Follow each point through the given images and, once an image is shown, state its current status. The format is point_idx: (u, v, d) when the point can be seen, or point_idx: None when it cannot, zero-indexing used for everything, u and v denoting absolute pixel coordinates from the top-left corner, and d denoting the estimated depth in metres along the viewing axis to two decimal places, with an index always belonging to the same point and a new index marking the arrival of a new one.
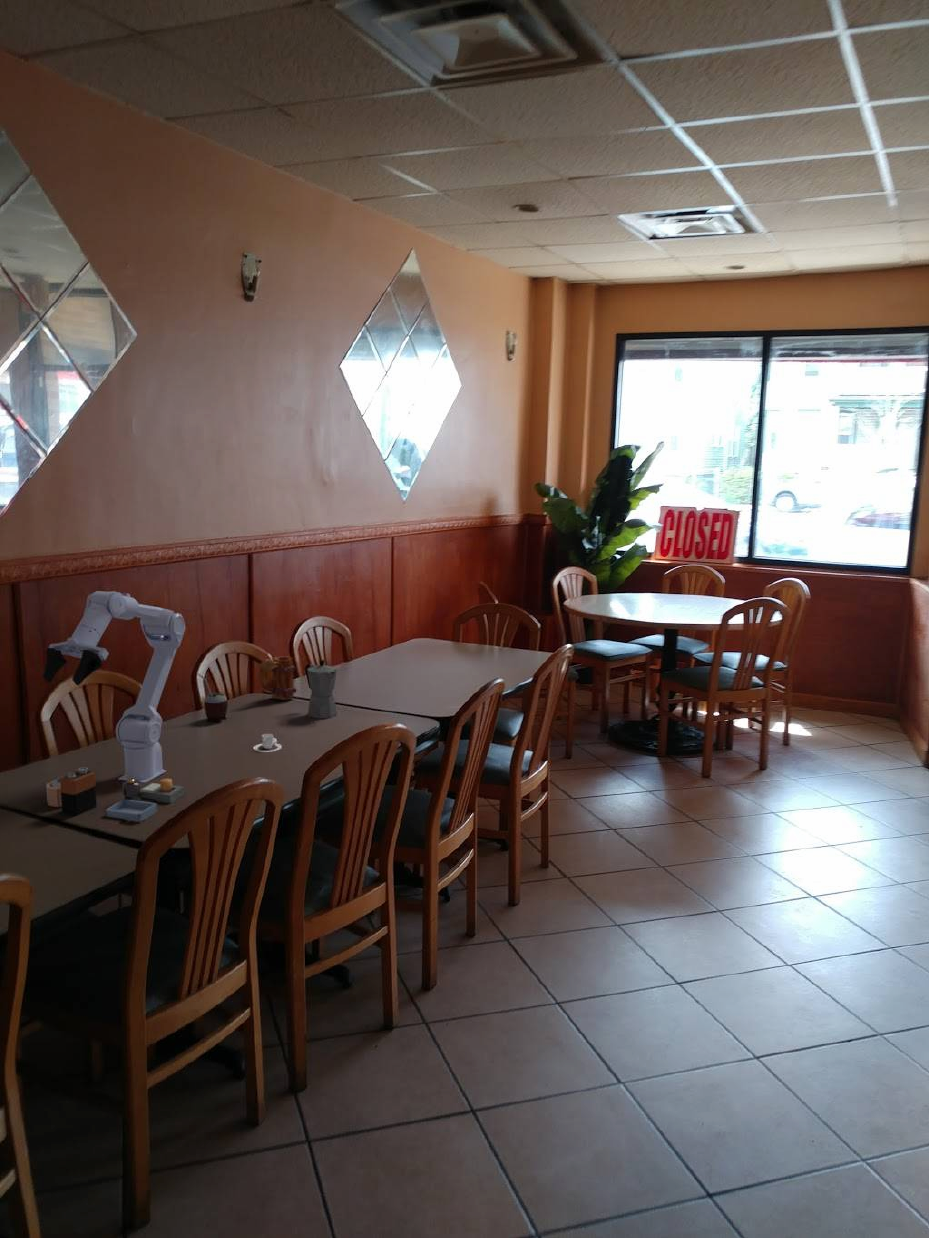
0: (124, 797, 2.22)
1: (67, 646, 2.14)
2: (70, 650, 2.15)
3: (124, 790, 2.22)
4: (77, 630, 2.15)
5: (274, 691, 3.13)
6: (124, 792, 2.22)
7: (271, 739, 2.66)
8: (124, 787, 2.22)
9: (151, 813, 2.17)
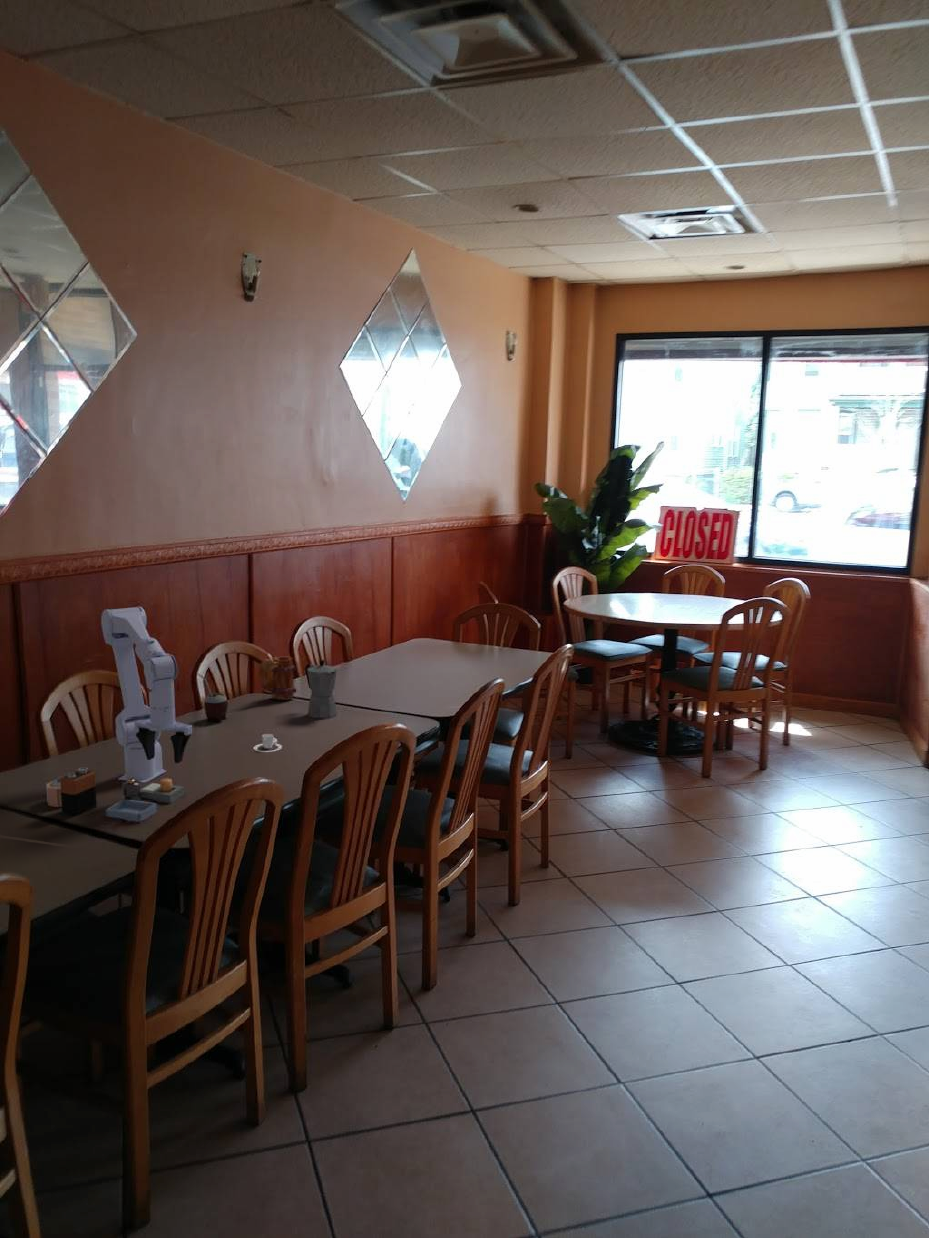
0: (124, 797, 2.22)
1: None
2: None
3: (124, 790, 2.22)
4: (153, 713, 2.22)
5: (274, 691, 3.13)
6: (124, 792, 2.22)
7: (271, 739, 2.66)
8: (124, 787, 2.22)
9: (151, 813, 2.17)
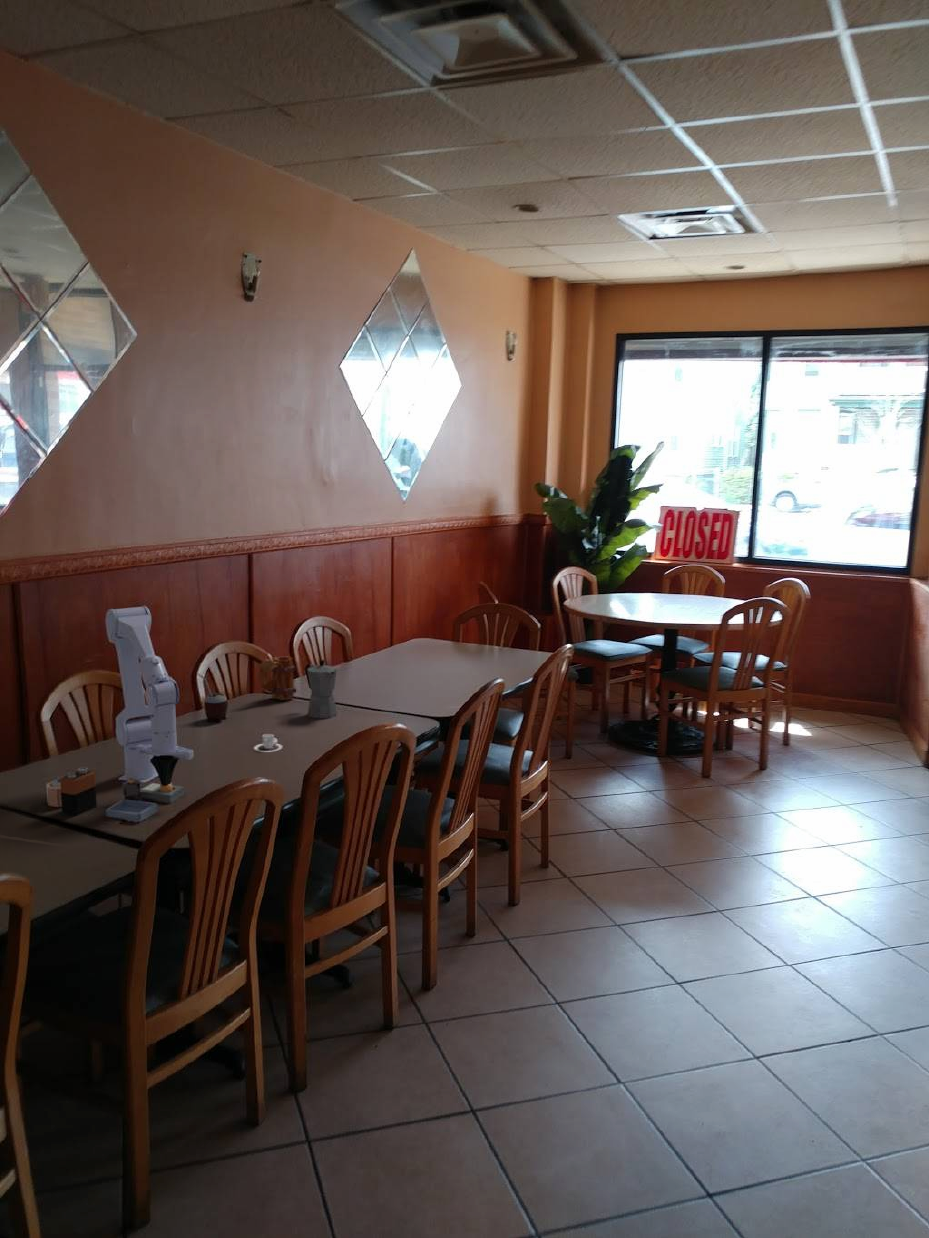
0: (124, 797, 2.22)
1: None
2: None
3: (124, 790, 2.22)
4: (155, 738, 2.23)
5: (274, 691, 3.13)
6: (124, 792, 2.22)
7: (272, 739, 2.66)
8: (124, 787, 2.22)
9: (151, 813, 2.17)
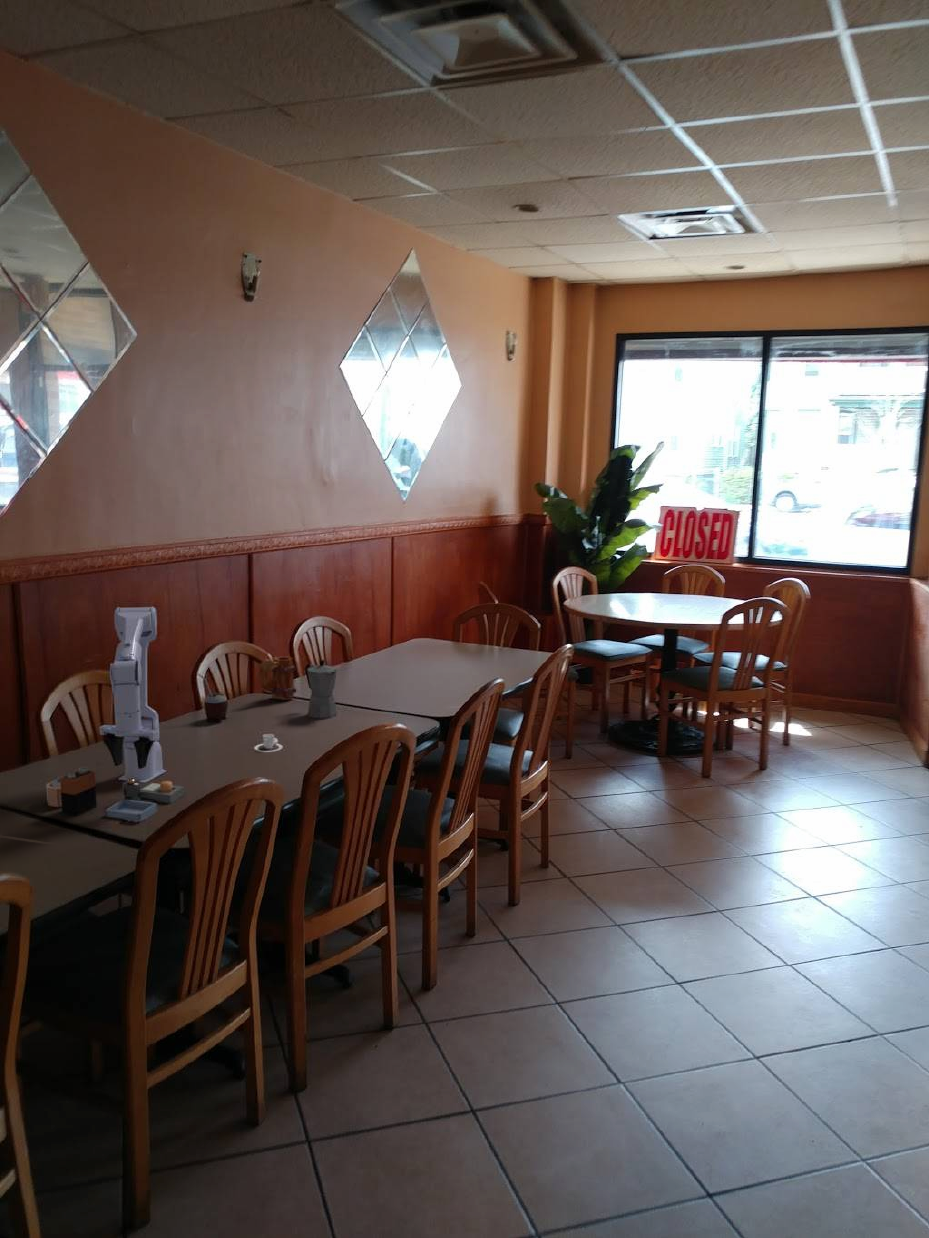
0: (124, 797, 2.22)
1: None
2: None
3: (124, 790, 2.22)
4: (118, 718, 2.18)
5: (274, 691, 3.13)
6: (124, 792, 2.22)
7: (272, 739, 2.66)
8: (124, 787, 2.22)
9: (151, 813, 2.17)
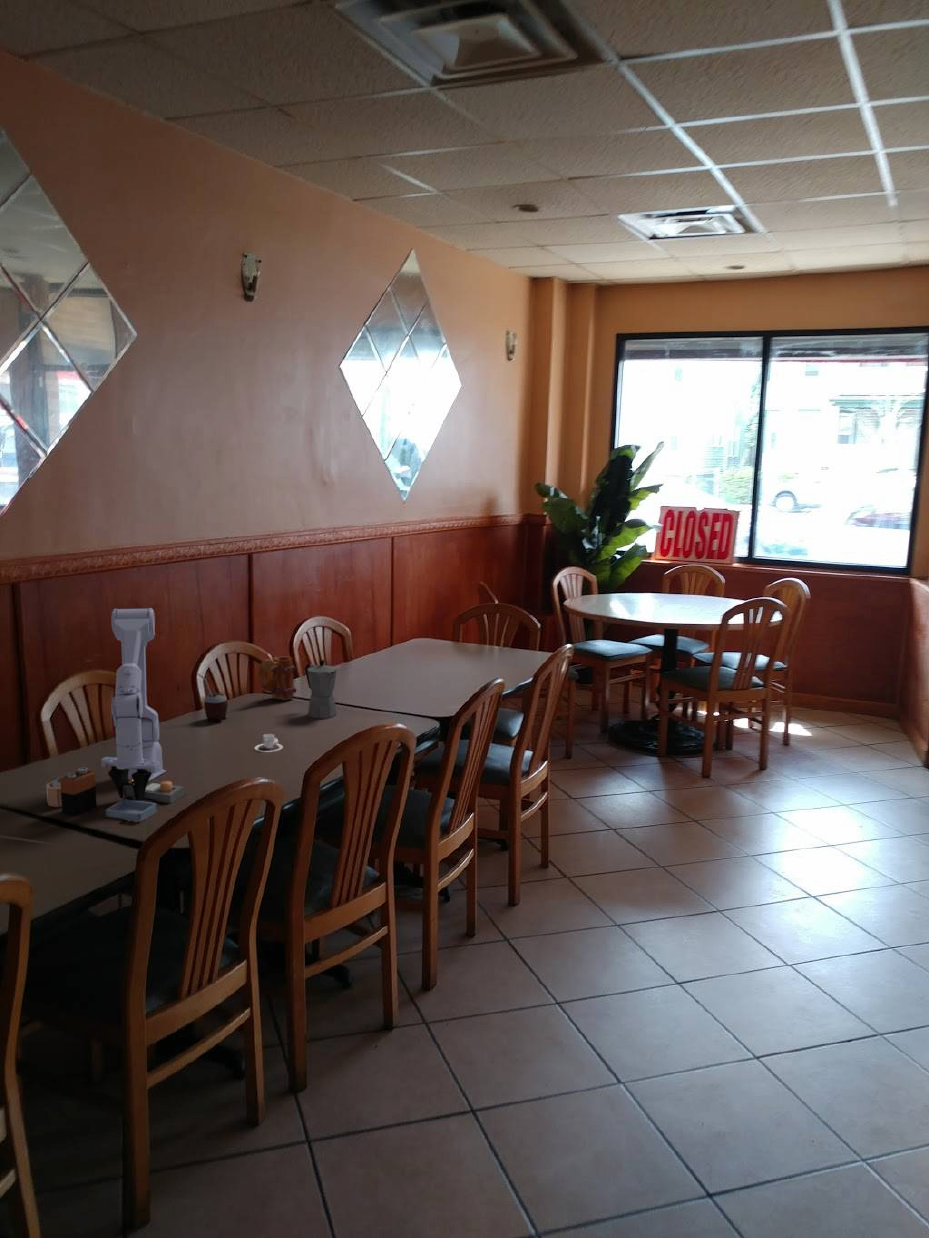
0: (124, 797, 2.22)
1: None
2: None
3: (124, 790, 2.22)
4: (120, 751, 2.19)
5: (274, 691, 3.13)
6: (124, 792, 2.22)
7: (272, 739, 2.66)
8: (124, 787, 2.22)
9: (151, 813, 2.17)
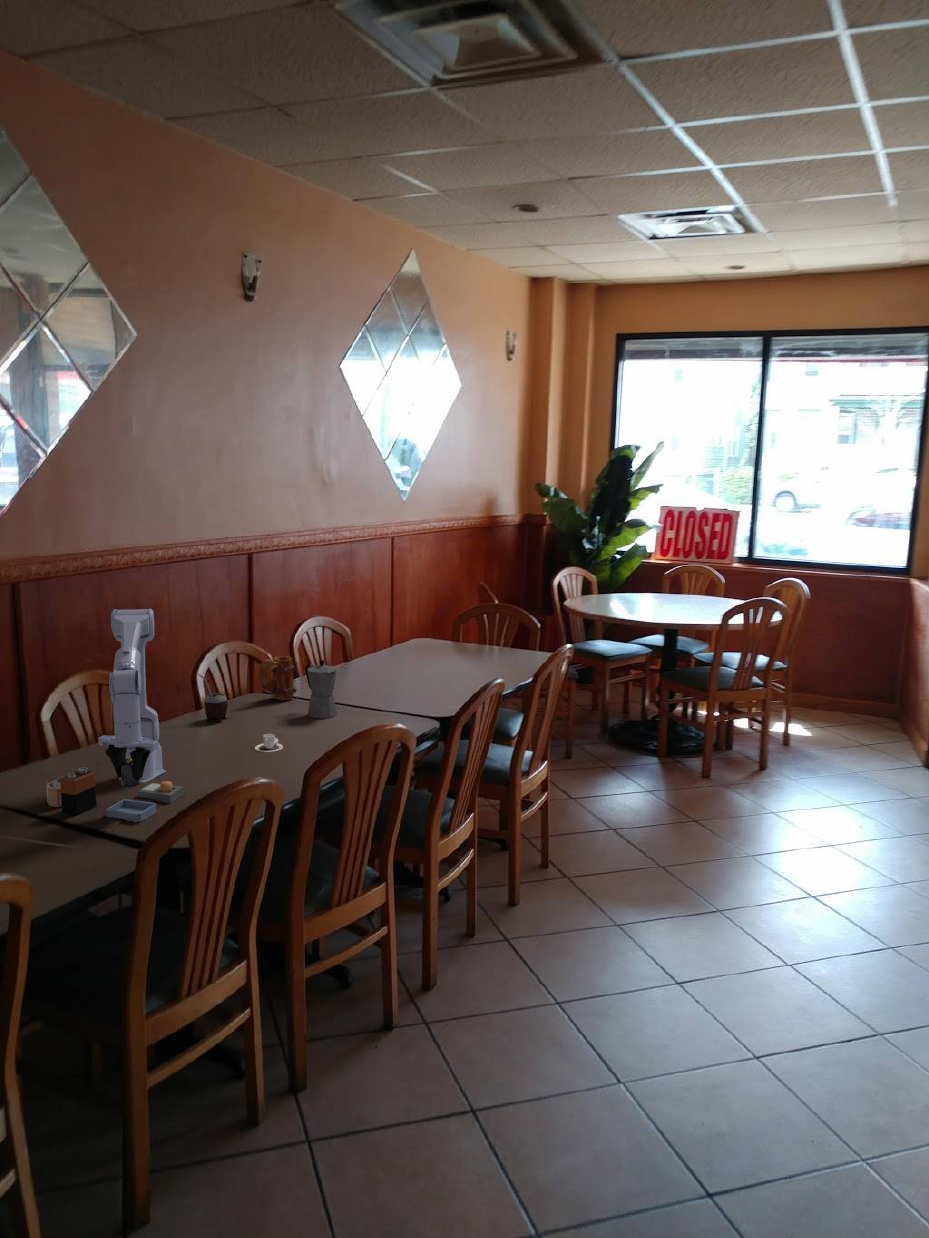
0: (122, 777, 2.16)
1: None
2: None
3: (122, 770, 2.15)
4: (117, 729, 2.12)
5: (274, 691, 3.13)
6: (122, 772, 2.15)
7: (272, 739, 2.66)
8: (122, 767, 2.15)
9: (151, 813, 2.17)
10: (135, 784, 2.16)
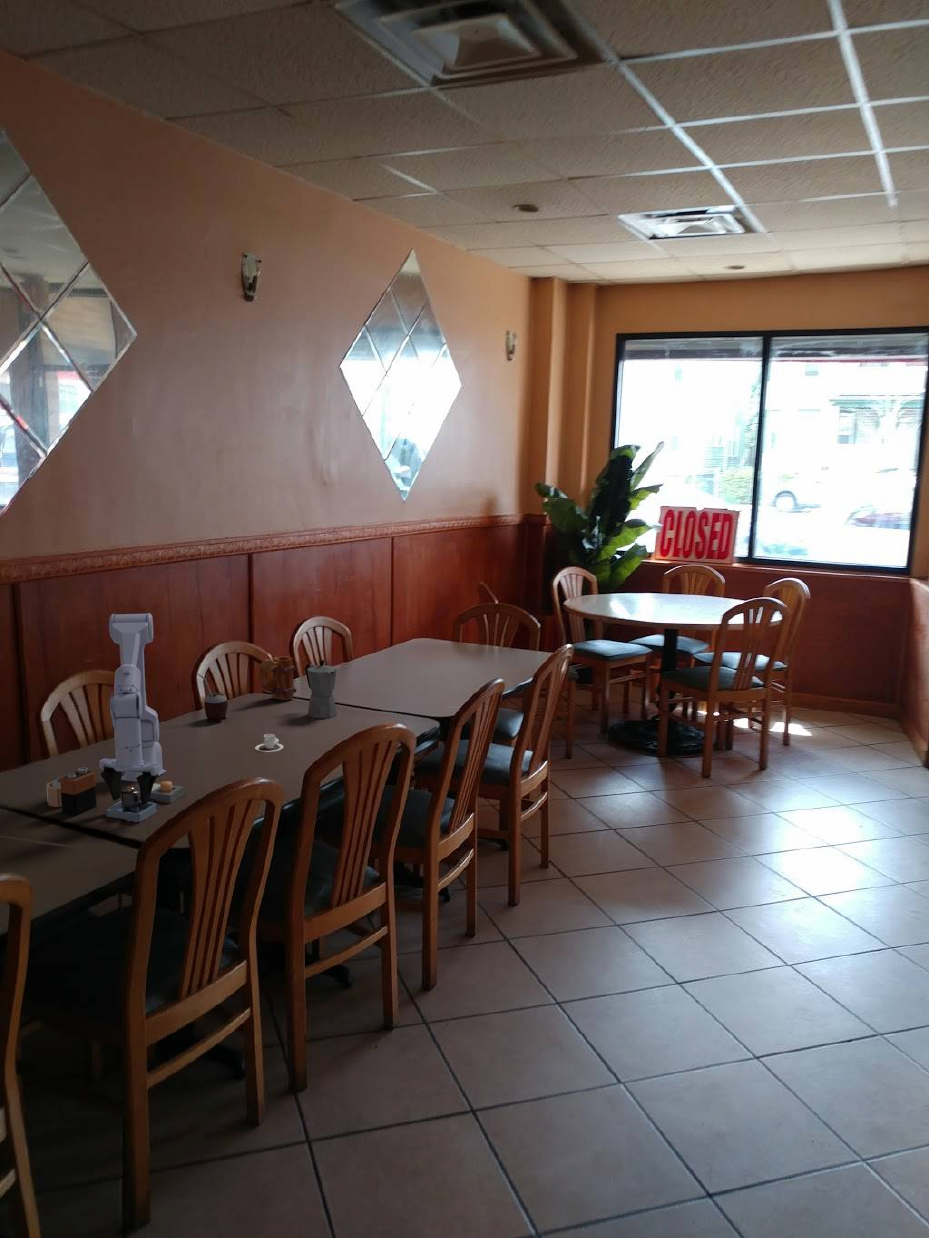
0: (123, 806, 2.15)
1: None
2: None
3: (123, 799, 2.15)
4: (118, 753, 2.12)
5: (274, 691, 3.13)
6: (123, 801, 2.15)
7: (273, 739, 2.66)
8: (123, 796, 2.15)
9: (151, 813, 2.17)
10: None
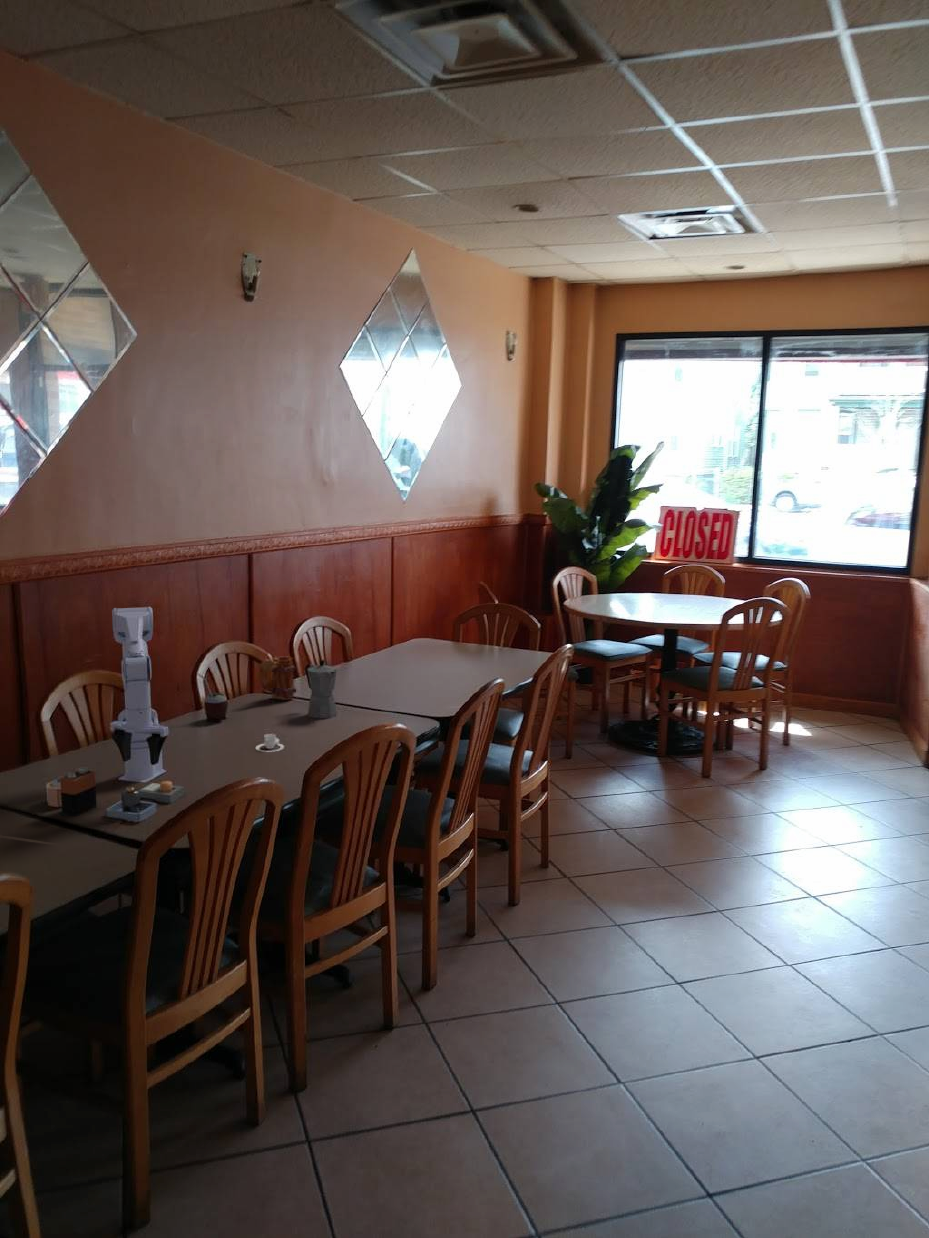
0: (123, 806, 2.15)
1: None
2: None
3: (123, 799, 2.15)
4: (129, 715, 2.19)
5: (274, 691, 3.13)
6: (123, 801, 2.15)
7: (273, 739, 2.66)
8: (123, 796, 2.15)
9: (151, 813, 2.17)
10: None
